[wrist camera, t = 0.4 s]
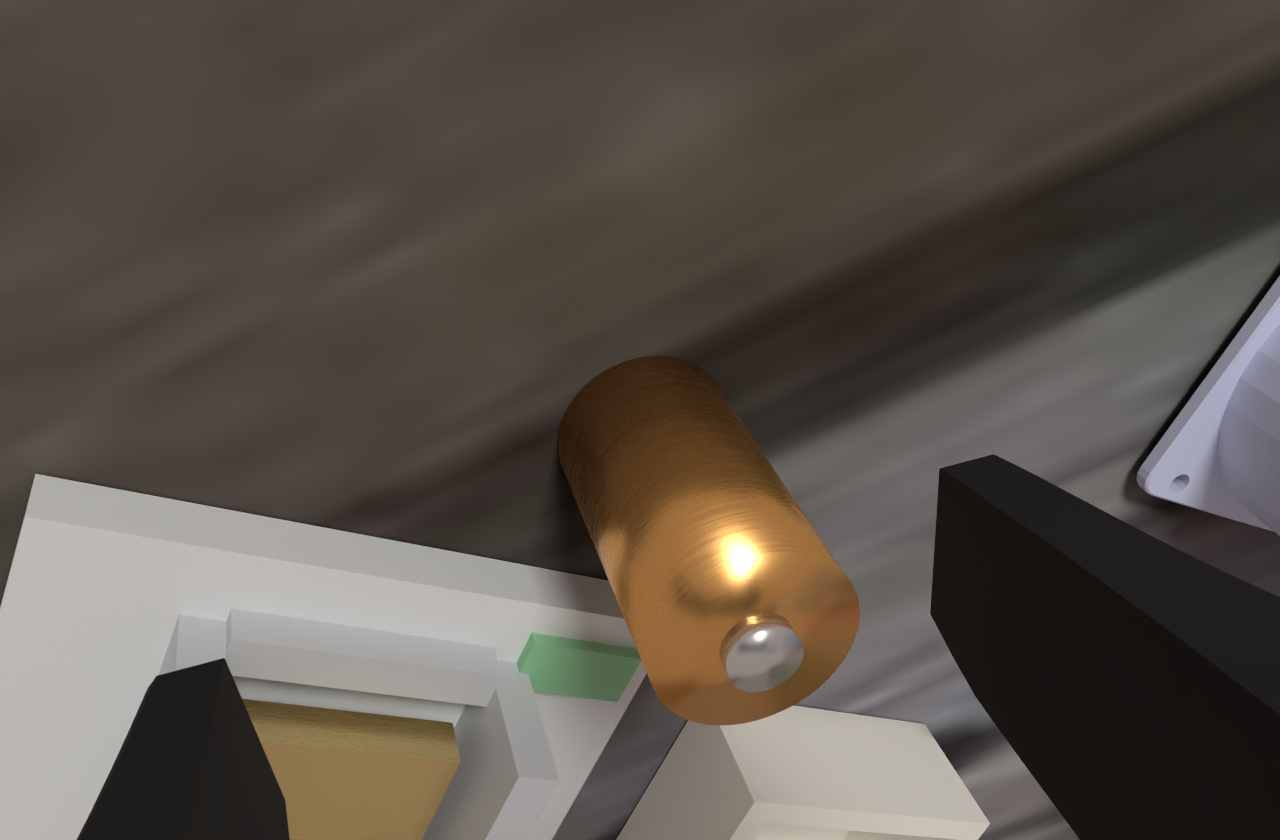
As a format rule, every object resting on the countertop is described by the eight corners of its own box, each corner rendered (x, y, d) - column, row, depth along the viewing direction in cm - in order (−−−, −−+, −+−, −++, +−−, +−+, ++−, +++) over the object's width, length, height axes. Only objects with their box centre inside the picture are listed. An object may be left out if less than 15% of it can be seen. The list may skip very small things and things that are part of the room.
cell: (755, 381, 22) (911, 593, 17) (679, 519, 24) (803, 754, 18) (601, 336, 21) (722, 552, 16) (530, 485, 22) (619, 732, 17)
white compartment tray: (655, 589, 24) (723, 735, 21) (499, 872, 28) (536, 1037, 25) (35, 473, 19) (-8, 646, 16) (-63, 842, 22) (-115, 1049, 19)
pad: (452, 723, 22) (460, 762, 21) (383, 862, 24) (388, 904, 23) (239, 698, 20) (239, 740, 19) (180, 851, 22) (177, 897, 21)
